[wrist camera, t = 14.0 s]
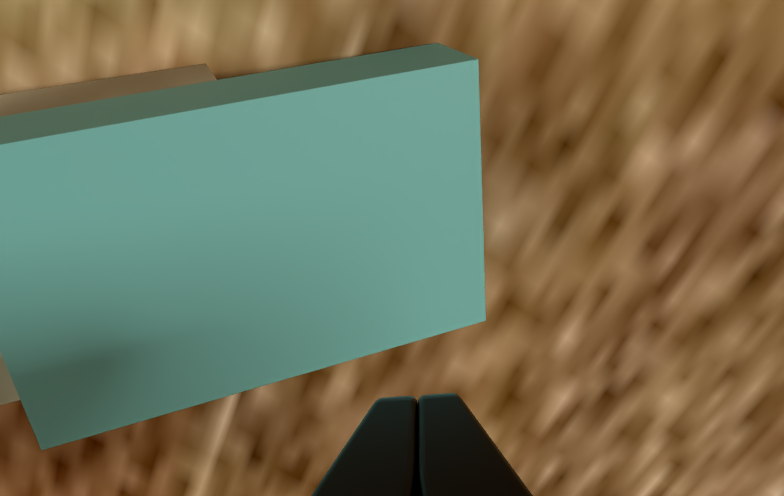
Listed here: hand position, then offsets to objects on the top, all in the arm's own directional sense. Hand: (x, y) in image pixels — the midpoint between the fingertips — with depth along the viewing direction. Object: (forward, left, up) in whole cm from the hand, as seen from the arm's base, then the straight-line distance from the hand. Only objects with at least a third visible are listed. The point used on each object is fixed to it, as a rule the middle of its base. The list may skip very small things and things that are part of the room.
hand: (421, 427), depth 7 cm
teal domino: (0, -1, -6) cm, 7 cm away
